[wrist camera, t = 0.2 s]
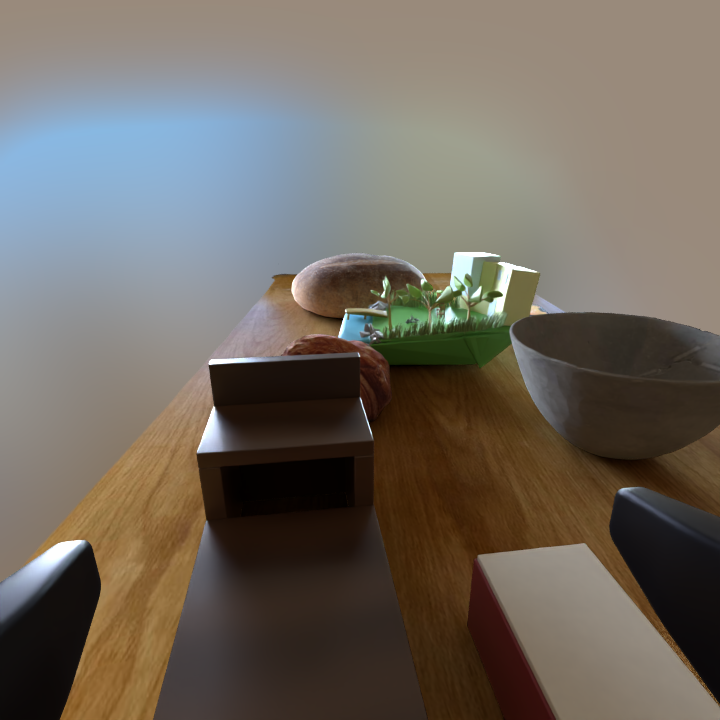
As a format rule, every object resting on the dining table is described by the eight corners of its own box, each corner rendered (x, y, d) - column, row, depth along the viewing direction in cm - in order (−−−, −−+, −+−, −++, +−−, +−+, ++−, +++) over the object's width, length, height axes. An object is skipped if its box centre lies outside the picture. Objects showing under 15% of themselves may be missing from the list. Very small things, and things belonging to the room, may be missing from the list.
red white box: (796, 952, 14) (856, 865, 12) (613, 996, 13) (650, 911, 11) (571, 610, 25) (586, 541, 23) (466, 624, 24) (473, 553, 22)
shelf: (479, 1029, 13) (528, 786, 9) (92, 1123, 11) (-51, 889, 7) (359, 483, 36) (358, 351, 32) (228, 495, 34) (210, 359, 31)
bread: (289, 294, 101) (286, 248, 97) (405, 288, 106) (406, 245, 102) (298, 326, 77) (294, 267, 74) (447, 317, 82) (450, 261, 79)
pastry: (258, 382, 55) (252, 317, 52) (381, 370, 58) (382, 309, 55) (261, 457, 39) (252, 371, 37) (429, 436, 42) (433, 355, 40)
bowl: (803, 512, 32) (856, 383, 29) (534, 508, 33) (555, 380, 29) (652, 398, 50) (674, 309, 46) (479, 397, 50) (487, 309, 47)
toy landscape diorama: (254, 382, 55) (244, 271, 50) (283, 333, 73) (277, 249, 69) (548, 382, 54) (565, 270, 50) (500, 332, 73) (510, 248, 68)
